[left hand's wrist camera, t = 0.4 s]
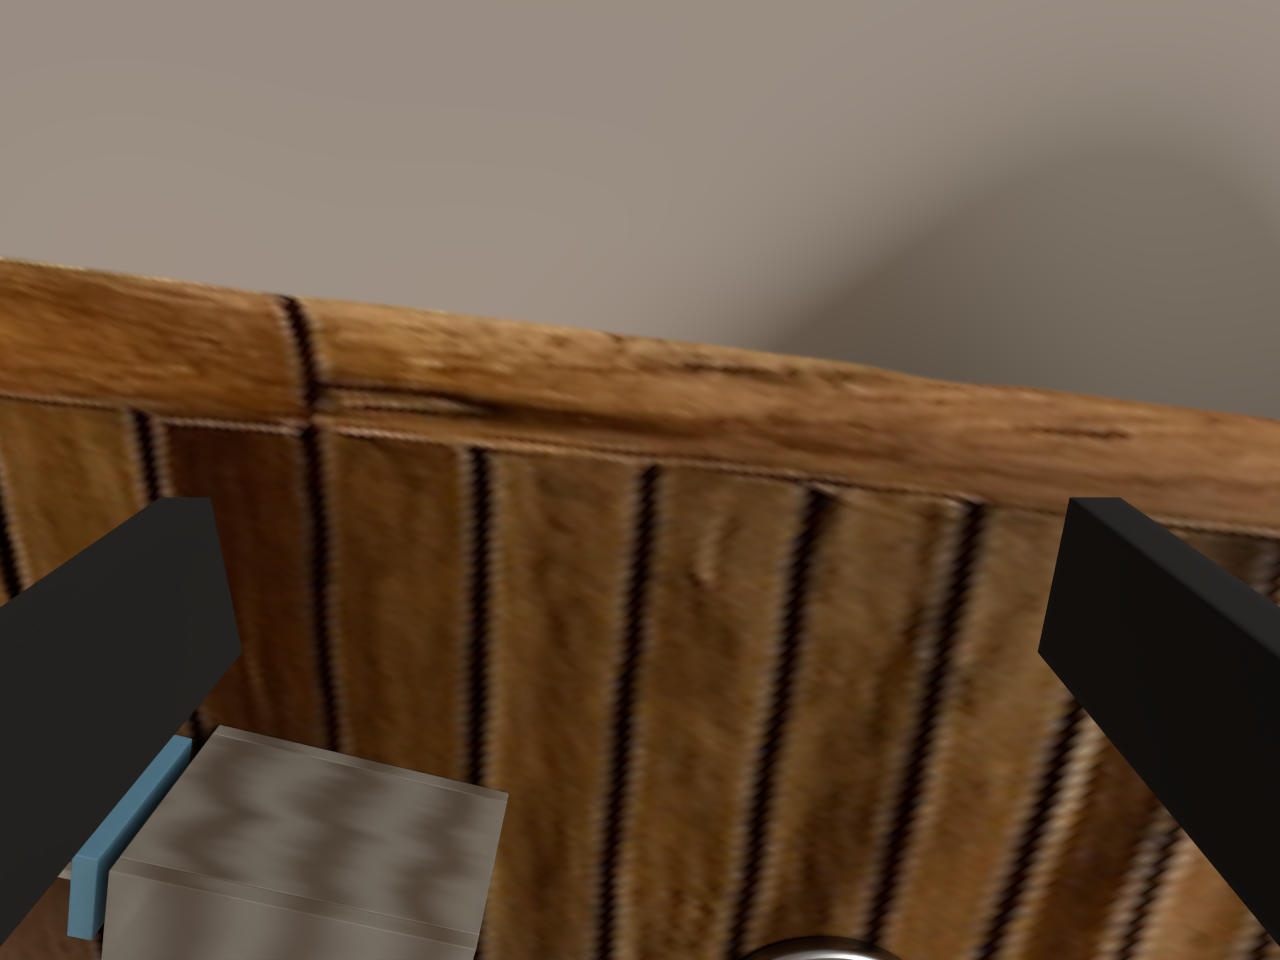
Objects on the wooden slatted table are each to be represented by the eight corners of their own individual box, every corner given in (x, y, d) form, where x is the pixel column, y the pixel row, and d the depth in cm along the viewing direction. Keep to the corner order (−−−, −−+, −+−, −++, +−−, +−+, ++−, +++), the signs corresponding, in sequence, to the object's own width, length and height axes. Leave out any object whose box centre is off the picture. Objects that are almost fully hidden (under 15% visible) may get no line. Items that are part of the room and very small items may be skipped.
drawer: (69, 785, 48) (-48, 912, 40) (74, 710, 46) (-49, 828, 38) (431, 866, 50) (390, 1002, 42) (449, 798, 48) (410, 927, 40)
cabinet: (207, 810, 49) (99, 970, 40) (219, 724, 47) (108, 870, 37) (484, 873, 51) (447, 1040, 41) (509, 792, 49) (476, 950, 39)
